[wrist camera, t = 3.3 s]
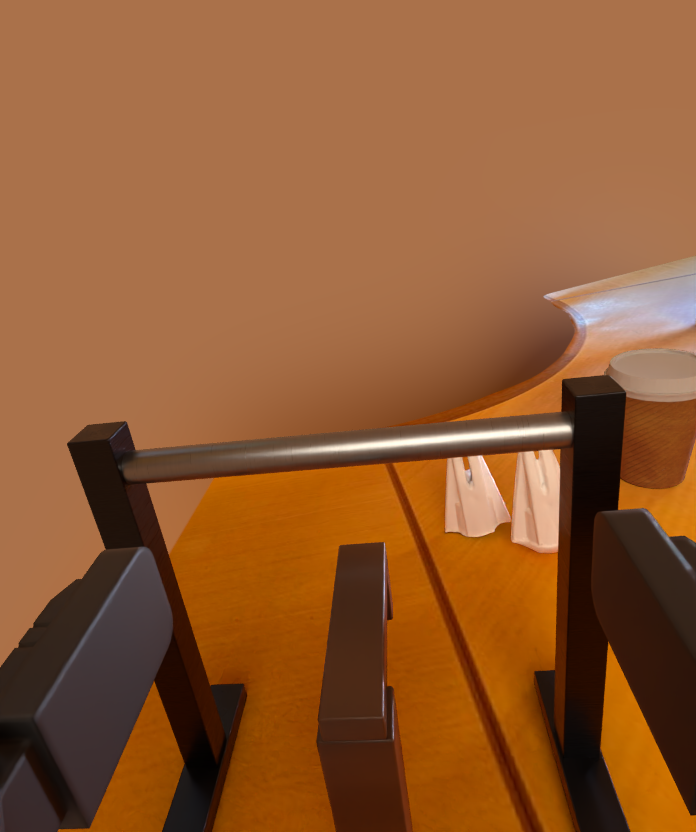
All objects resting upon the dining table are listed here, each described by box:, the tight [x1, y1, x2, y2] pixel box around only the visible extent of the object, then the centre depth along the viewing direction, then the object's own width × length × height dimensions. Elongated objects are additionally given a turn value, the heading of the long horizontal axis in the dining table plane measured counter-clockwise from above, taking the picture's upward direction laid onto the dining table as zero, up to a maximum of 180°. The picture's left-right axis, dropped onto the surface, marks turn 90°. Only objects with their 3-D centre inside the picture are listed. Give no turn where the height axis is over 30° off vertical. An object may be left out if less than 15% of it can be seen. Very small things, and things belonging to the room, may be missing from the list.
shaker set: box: [445, 450, 560, 553], centre depth 50 cm, size 12×4×11 cm, turn 53°
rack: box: [67, 375, 630, 832], centre depth 30 cm, size 24×10×23 cm, turn 87°
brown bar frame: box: [316, 542, 413, 832], centre depth 24 cm, size 10×14×18 cm
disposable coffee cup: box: [604, 348, 696, 488], centre depth 56 cm, size 10×10×12 cm
